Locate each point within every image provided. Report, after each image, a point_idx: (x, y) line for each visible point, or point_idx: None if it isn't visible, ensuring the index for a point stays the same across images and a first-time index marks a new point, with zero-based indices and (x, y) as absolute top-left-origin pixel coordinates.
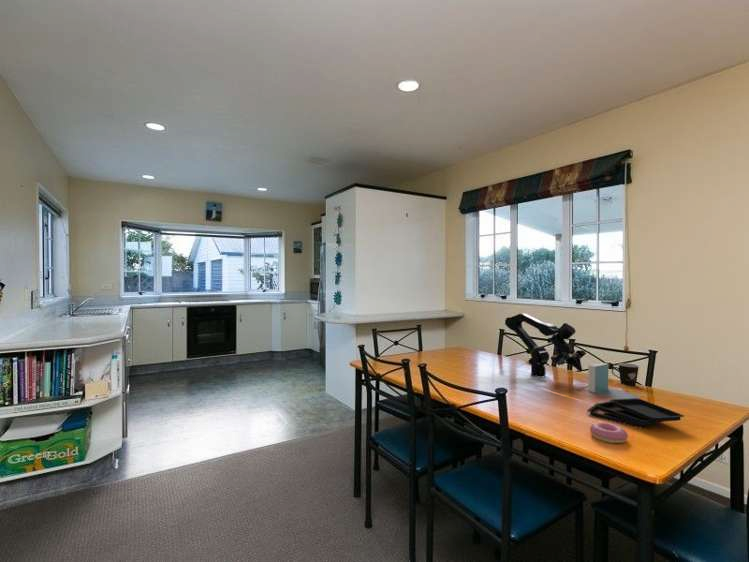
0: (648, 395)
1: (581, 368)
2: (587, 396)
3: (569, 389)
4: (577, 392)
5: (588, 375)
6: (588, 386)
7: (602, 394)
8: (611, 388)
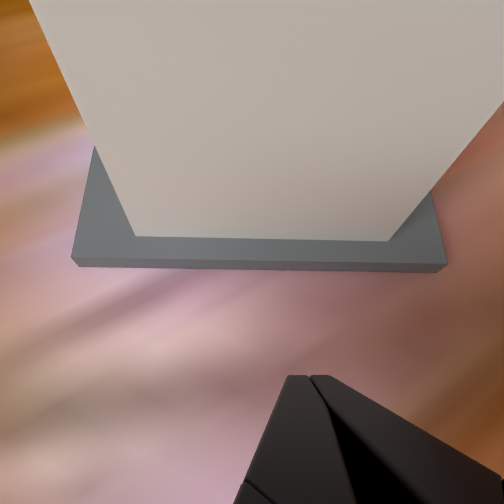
0: (5, 12)
1: (304, 389)
2: (484, 193)
3: (490, 419)
4: (484, 303)
5: (481, 126)
6: (403, 218)
7: None
8: (97, 170)
